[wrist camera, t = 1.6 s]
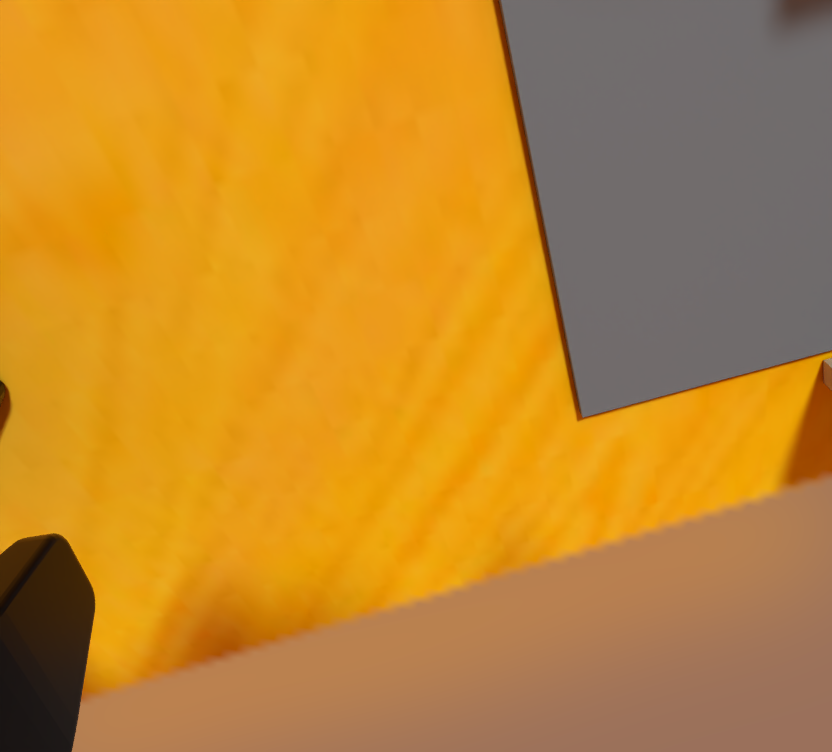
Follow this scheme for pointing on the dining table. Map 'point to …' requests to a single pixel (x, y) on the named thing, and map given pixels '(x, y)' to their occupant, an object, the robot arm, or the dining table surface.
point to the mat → (680, 184)
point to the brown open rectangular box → (828, 373)
